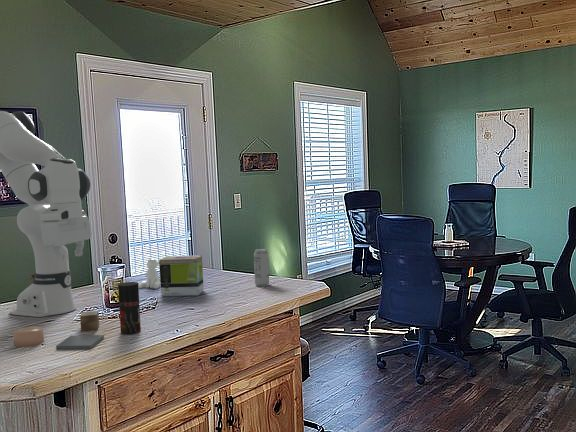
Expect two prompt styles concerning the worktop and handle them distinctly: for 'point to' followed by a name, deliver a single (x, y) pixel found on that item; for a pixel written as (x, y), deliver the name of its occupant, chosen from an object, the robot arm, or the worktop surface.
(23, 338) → the soap bar
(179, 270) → the tea box
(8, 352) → the worktop surface
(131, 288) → the deodorant
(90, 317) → the walnut block
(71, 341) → the slate coaster
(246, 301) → the worktop surface
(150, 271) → the seated beast figurine
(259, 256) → the energy drink can
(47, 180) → the robot arm
